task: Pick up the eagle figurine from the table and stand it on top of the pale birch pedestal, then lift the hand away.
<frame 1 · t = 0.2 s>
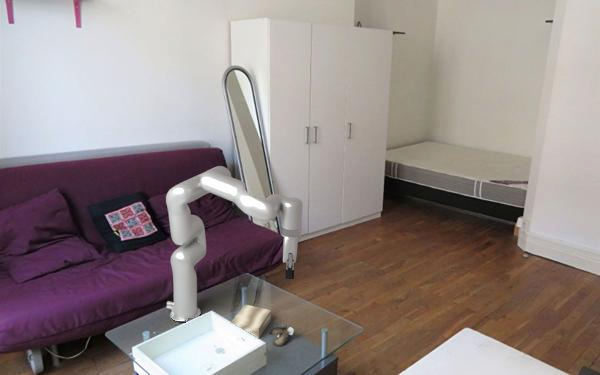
hand: (289, 272, 179), 30 cm above the table, tool pointing down, fingers open, 9 cm apart
pedestal: (251, 326, 195), on the table
eagle figurine: (280, 340, 187), on the table
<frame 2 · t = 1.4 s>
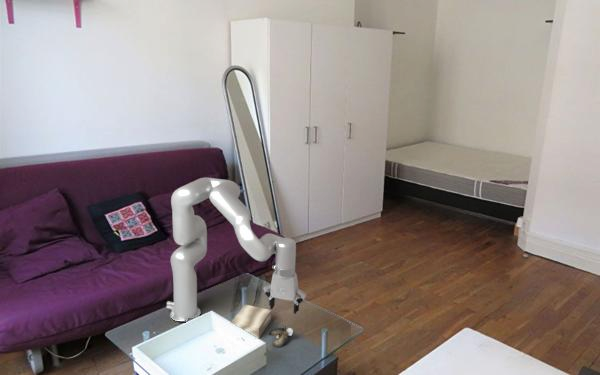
hand: (283, 309, 183), 14 cm above the table, tool pointing down, fingers open, 9 cm apart
nothing on the table moved.
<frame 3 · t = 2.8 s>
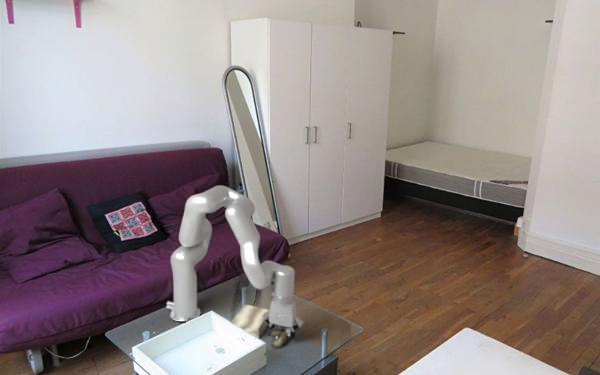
hand: (282, 336, 186), 2 cm above the table, tool pointing down, fingers closed on eagle figurine, 7 cm apart
eagle figurine: (279, 341, 186), on the table, touching gripper
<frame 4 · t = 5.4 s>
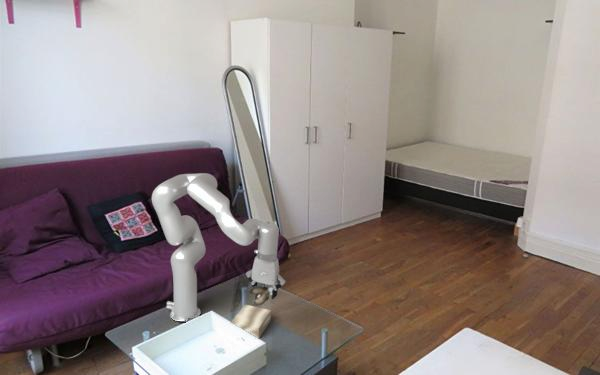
hand: (264, 294, 186), 17 cm above the table, tool pointing down, fingers closed on eagle figurine, 7 cm apart
eagle figurine: (261, 300, 186), point 15 cm above the table, touching gripper
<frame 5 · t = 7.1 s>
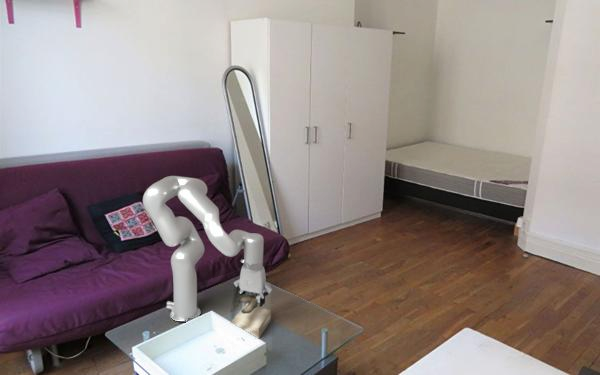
hand: (252, 302, 191), 11 cm above the table, tool pointing down, fingers closed on eagle figurine, 7 cm apart
eagle figurine: (249, 308, 191), point 9 cm above the table, touching gripper
when the fingers open (8 cm above the table, at t = 8.2 s): eagle figurine drops 2 cm, resting on pedestal.
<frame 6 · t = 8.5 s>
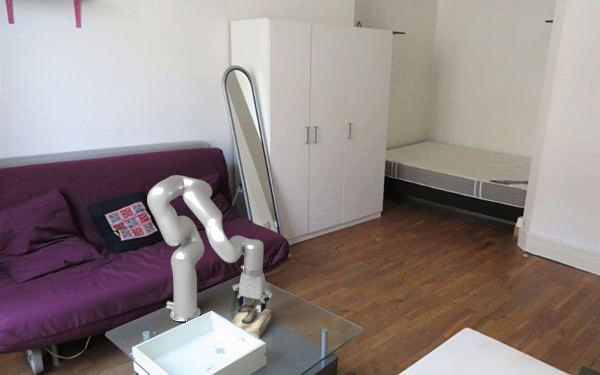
hand: (251, 307, 192), 9 cm above the table, tool pointing down, fingers open, 9 cm apart
eagle figurine: (249, 318, 192), point 5 cm above the table, touching pedestal
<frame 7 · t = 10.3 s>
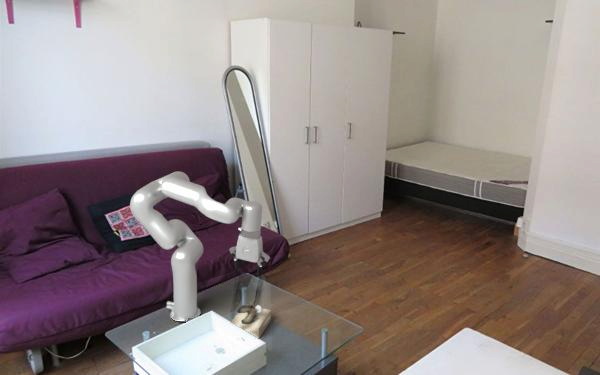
hand: (248, 271, 189), 24 cm above the table, tool pointing down, fingers open, 9 cm apart
nothing on the table moved.
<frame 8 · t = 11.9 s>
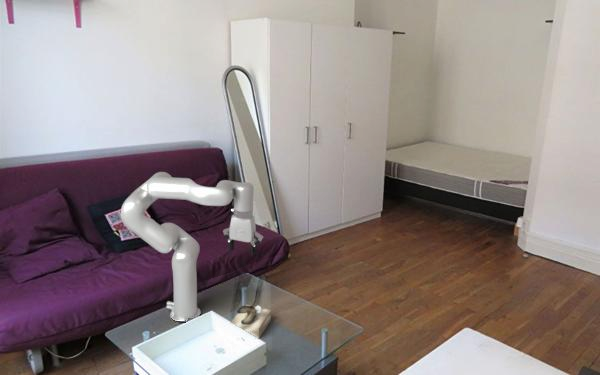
hand: (242, 252, 192), 30 cm above the table, tool pointing down, fingers open, 9 cm apart
nothing on the table moved.
at the end: eagle figurine inside the target area on the pedestal (2.3 cm from its centre), point 4.8 cm above the pedestal's base; eagle figurine tilted 0°; the gripper is holding nothing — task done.
